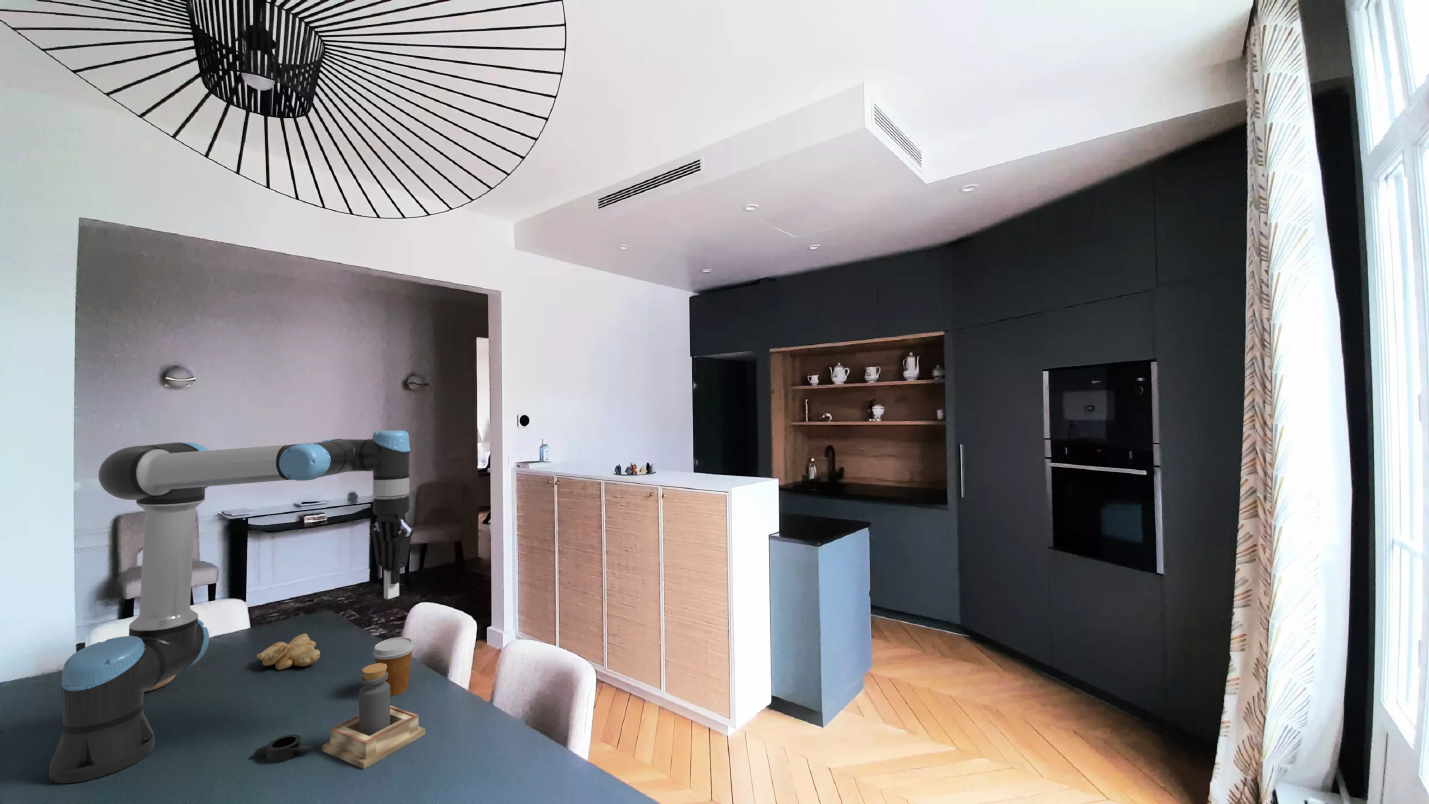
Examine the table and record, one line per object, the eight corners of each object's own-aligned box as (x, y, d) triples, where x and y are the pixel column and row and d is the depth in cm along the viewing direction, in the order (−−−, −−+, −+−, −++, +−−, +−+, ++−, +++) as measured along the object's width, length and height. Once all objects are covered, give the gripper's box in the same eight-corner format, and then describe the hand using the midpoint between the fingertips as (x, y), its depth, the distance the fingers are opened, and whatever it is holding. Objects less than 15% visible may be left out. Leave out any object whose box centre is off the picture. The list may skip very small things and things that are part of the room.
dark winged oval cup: (290, 740, 129) (290, 727, 129) (317, 752, 125) (317, 738, 125) (250, 759, 122) (250, 745, 122) (277, 773, 118) (277, 758, 118)
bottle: (376, 745, 125) (376, 674, 125) (352, 742, 126) (352, 672, 126) (396, 730, 130) (396, 662, 130) (373, 727, 132) (373, 660, 132)
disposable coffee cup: (382, 703, 145) (382, 654, 145) (365, 692, 150) (365, 645, 150) (421, 688, 152) (421, 642, 152) (404, 678, 158) (403, 633, 158)
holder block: (322, 750, 125) (322, 729, 125) (384, 719, 137) (384, 699, 137) (364, 769, 119) (364, 746, 119) (425, 734, 131) (425, 713, 131)
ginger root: (259, 653, 171) (267, 626, 171) (322, 657, 177) (330, 630, 178) (243, 678, 156) (251, 648, 157) (312, 681, 163) (320, 652, 164)
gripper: (424, 495, 138) (424, 596, 138) (388, 492, 144) (388, 588, 144) (394, 500, 132) (394, 606, 132) (358, 496, 138) (358, 597, 137)
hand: (391, 596), depth 138 cm, fingers closed
